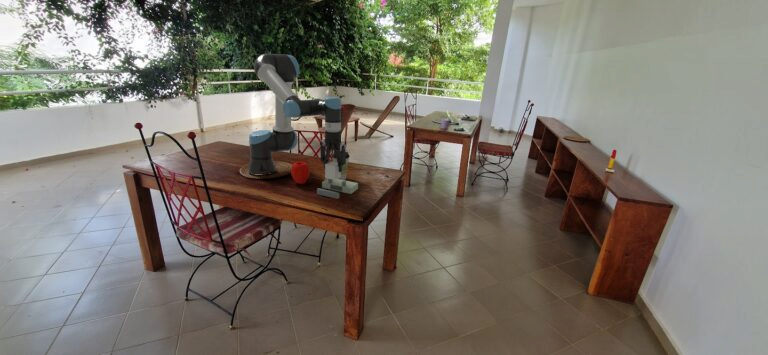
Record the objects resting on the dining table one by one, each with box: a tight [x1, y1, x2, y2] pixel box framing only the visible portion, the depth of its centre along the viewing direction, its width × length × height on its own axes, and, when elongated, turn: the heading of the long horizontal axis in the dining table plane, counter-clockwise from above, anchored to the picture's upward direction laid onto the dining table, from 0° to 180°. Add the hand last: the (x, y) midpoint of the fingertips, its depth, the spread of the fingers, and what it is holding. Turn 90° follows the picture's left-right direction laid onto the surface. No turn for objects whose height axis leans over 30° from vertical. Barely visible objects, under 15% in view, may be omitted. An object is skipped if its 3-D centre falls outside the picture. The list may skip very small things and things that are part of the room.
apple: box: [290, 160, 311, 185], centre depth 176 cm, size 10×10×12 cm
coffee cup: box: [331, 150, 350, 181], centre depth 185 cm, size 10×10×15 cm
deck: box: [316, 178, 359, 200], centre depth 169 cm, size 17×17×6 cm
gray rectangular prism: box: [324, 161, 338, 180], centre depth 163 cm, size 6×6×7 cm
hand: (333, 176), depth 164 cm, fingers closed on gray rectangular prism, 5 cm apart
